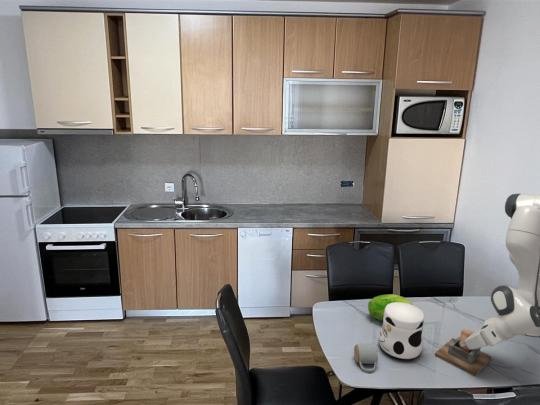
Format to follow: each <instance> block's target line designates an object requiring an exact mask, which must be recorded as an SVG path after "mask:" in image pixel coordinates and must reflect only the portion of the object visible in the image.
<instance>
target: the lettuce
mask: <svg viewBox="0 0 540 405" xmlns="http://www.w3.org/2000/svg"><path fill="white" fill-rule="evenodd" d="M394 302H402V303H407V304H410V305H413V303H412V302H411V300H409V299H407V298H406V297H404V296H402V295H401V296H400V295H398V294H395V293H393V294H392V293H391V294H382V295H381V294H380V295H378V296H374V297H373V298H372V299H370V300H369V301H368V303H367V304H368V305H367V310H368V312H369V315H370V316H371V317H373V318H375V319H377V320H378V321H382V322H383V317H384V311H385V307H386V306H387V305H388V304H390V303H394Z"/></svg>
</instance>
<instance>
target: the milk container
mask: <svg viewBox="0 0 540 405" xmlns="http://www.w3.org/2000/svg"><path fill="white" fill-rule="evenodd" d="M424 321H425V315H424V312H423V311H422V310H421V309H420V308H419V307H417V306H416V305H413V304H412V305H410V304H407V303H402V302H394V303H390V304H388V305H387V306H386V307H385V311H384V317H383V321H382V326H381V328H380V330H379V334H378V339H379V340H378V341H379V346H380V348H381V349H382V350H383V351H384V352H385V353H386V354H387V355H389V356H391V357H393V358H397V359H400V360H412V359H415V358H417V357H418V356H419V355H420V354H421V352H422V350H423V347H424V346H423V345H424V341H423V330H424V323H425V322H424Z"/></svg>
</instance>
